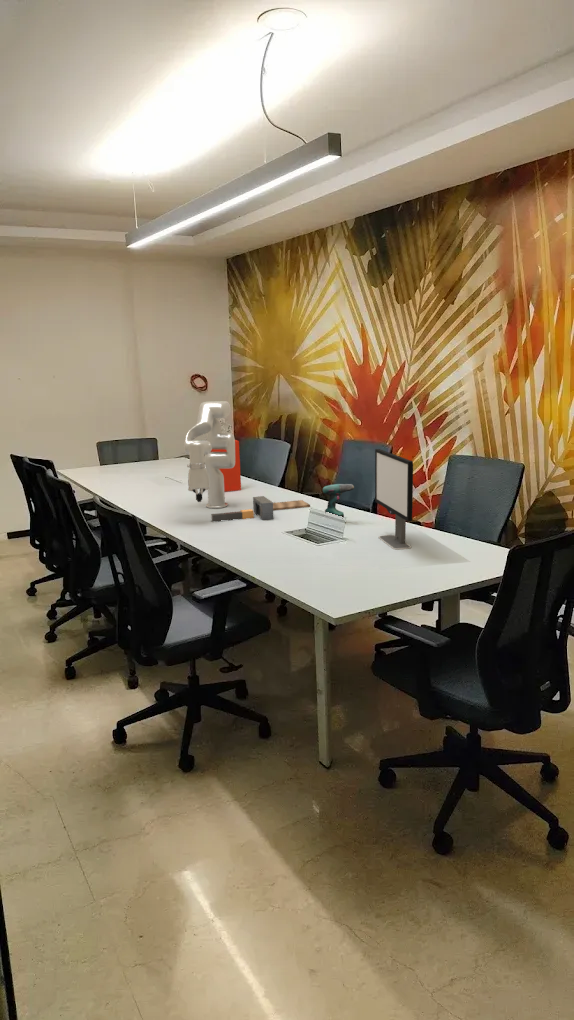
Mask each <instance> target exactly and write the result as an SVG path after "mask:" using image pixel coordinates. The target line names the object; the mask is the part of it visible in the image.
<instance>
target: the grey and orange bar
mask: <svg viewBox="0 0 574 1020" xmlns="http://www.w3.org/2000/svg"><path fill="white" fill-rule="evenodd" d="M210 515H211V517H210V518H211V522H212V521H218V522H222V521H221V520H228V521H234V520H233V519H238V520H247V519H246V518H250V519H254V518H255V517H254V516H255V513H254V510H253V508H249V509H240V511H239V510H238V511H228V512H221V513H212V514H210Z"/></svg>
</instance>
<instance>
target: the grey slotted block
mask: <svg viewBox="0 0 574 1020" xmlns="http://www.w3.org/2000/svg"><path fill="white" fill-rule="evenodd" d="M273 503H274V502H273V501H272V500H270V499H269V498H267V497H266V496H264V495H260V496H253V497H252V504H253V507H252V510H253V512H254V513H255V514H256V516H257V514H258V515H259V519H260V520H262V521H266V520H267V521H269V520H274V511H273Z"/></svg>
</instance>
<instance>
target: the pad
mask: <svg viewBox="0 0 574 1020" xmlns="http://www.w3.org/2000/svg"><path fill="white" fill-rule="evenodd" d="M301 508H302V509H303V508H311V504H309V503H308V502H306V501H304V500H303V499H300V500H299V499H298V500H291V501H289V500H287V501H281V502H280V501H279V502H277V501H276V502H273V512H275V511H284V510H293V509H301Z"/></svg>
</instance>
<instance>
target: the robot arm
mask: <svg viewBox="0 0 574 1020" xmlns="http://www.w3.org/2000/svg"><path fill="white" fill-rule="evenodd" d="M231 411H232V409H231V404H230V402H229V401H226V400H224V401H221V400H219V401H218V400H217V401H215V400H214V401H203V402H201V403H200V405H199V408H198V413H197V419H196V420H197V421H196V423H195V425H193V426H192V427H191V428H190V429H189V430H188V432H186V434H185V438H184V442H183V452H184V453H185V455H188V456H189V464H187V466H186V467H187V468H189V469H188V477H187V478H188V480H187V483H188V485H187V486H188V489H187V490H188V491H189V492H193V493H194V494H195V500H196V501H197V502H198V503H201V502H202V500H203V494H204V492H205V491H207V499H208V500H207V501H208V503H206V504H205V506H206V508H209V509H221V508H226V507H228V506H229V505H228V502H226V497H225V496H226V495H225V493H226V492H224V476H223V474H222V472H221V471H220V470H219V469H223V468H233V467H234V466H235V440H236V439H235V435H234V434H233V433H232V432H223V431H222V428H223V427H222V422H221V421H220V419H225V418H227V417H229V416H230V414H231ZM205 434H206V440H202V439H201V440H195V439H196V438H198V437H201V436H203V435H205ZM212 449H226V450H227V452H211V450H212Z"/></svg>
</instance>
